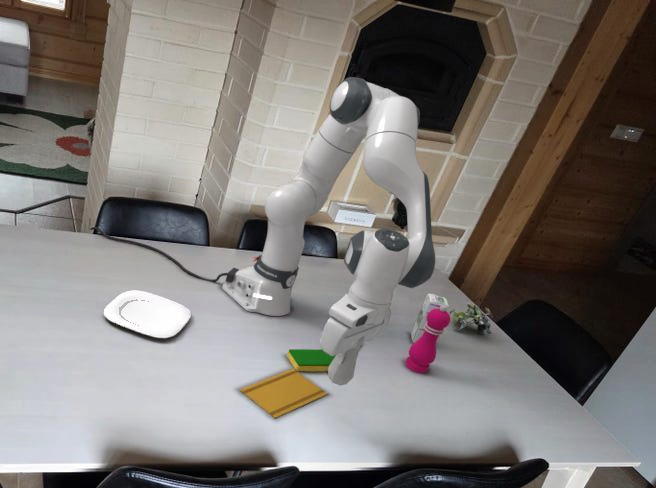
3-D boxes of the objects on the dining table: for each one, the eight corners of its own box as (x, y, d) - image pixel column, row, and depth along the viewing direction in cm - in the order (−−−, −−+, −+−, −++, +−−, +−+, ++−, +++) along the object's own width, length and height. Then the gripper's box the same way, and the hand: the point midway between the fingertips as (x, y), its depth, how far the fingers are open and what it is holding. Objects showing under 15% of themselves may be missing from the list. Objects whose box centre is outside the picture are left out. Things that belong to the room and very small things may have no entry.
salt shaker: (322, 371, 149) (340, 323, 142) (345, 373, 150) (364, 326, 143) (329, 386, 144) (348, 337, 137) (353, 388, 145) (373, 340, 138)
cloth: (239, 390, 157) (239, 389, 157) (292, 369, 170) (292, 368, 169) (275, 418, 151) (275, 417, 150) (327, 394, 163) (327, 393, 163)
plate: (94, 320, 172) (94, 315, 171) (129, 290, 190) (129, 285, 189) (168, 348, 168) (169, 342, 167) (196, 314, 185) (198, 309, 184)
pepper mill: (428, 364, 185) (457, 304, 174) (428, 377, 179) (458, 315, 168) (403, 356, 186) (431, 296, 175) (403, 368, 180) (431, 307, 169)
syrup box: (430, 347, 194) (450, 305, 186) (411, 342, 194) (430, 300, 186) (428, 338, 198) (447, 297, 190) (409, 333, 199) (427, 292, 191)
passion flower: (470, 346, 211) (502, 333, 201) (446, 341, 206) (478, 327, 196) (463, 315, 215) (494, 300, 205) (440, 309, 210) (470, 294, 200)
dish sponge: (286, 356, 175) (288, 348, 173) (331, 356, 179) (333, 349, 177) (296, 371, 169) (298, 364, 168) (342, 371, 173) (345, 364, 172)
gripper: (381, 290, 144) (360, 341, 152) (325, 308, 132) (306, 363, 139) (404, 303, 141) (382, 355, 148) (349, 323, 128) (328, 379, 136)
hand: (345, 359), depth 144 cm, fingers closed on salt shaker, 3 cm apart
